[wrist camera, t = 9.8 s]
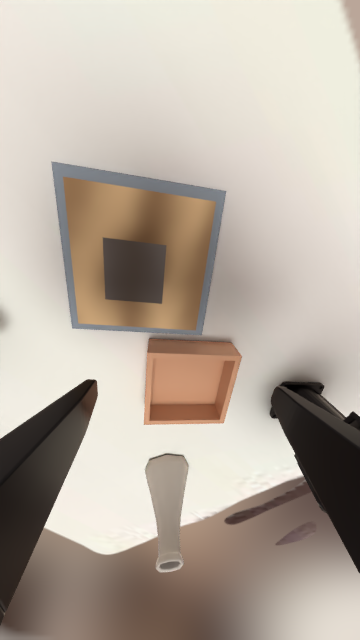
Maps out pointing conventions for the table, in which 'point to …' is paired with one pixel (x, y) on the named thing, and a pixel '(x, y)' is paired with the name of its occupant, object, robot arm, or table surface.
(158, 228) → the wooden lid
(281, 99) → the table surface
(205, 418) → the terracotta dish
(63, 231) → the slate mat
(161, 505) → the flask
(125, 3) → the table surface
